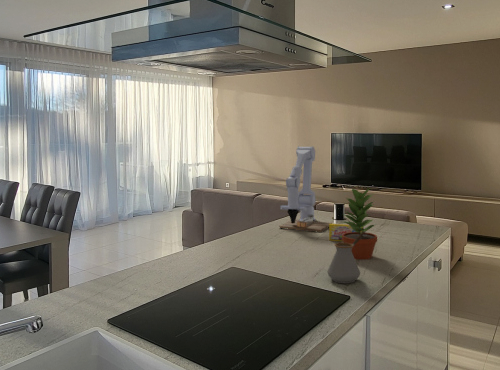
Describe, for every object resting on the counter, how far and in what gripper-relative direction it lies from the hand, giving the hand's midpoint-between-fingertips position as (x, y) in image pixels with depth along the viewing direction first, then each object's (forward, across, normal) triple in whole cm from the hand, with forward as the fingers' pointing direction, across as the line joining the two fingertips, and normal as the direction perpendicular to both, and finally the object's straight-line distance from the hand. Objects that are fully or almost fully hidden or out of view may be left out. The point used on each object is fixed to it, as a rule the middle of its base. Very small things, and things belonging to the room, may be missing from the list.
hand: (293, 222), depth 250 cm
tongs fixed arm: (+1, +6, +4) cm, 8 cm away
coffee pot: (+3, +50, -72) cm, 88 cm away
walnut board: (+2, +6, +3) cm, 8 cm away
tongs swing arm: (+1, +5, +2) cm, 5 cm away
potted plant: (+3, +47, -44) cm, 64 cm away
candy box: (+3, +35, -20) cm, 40 cm away
